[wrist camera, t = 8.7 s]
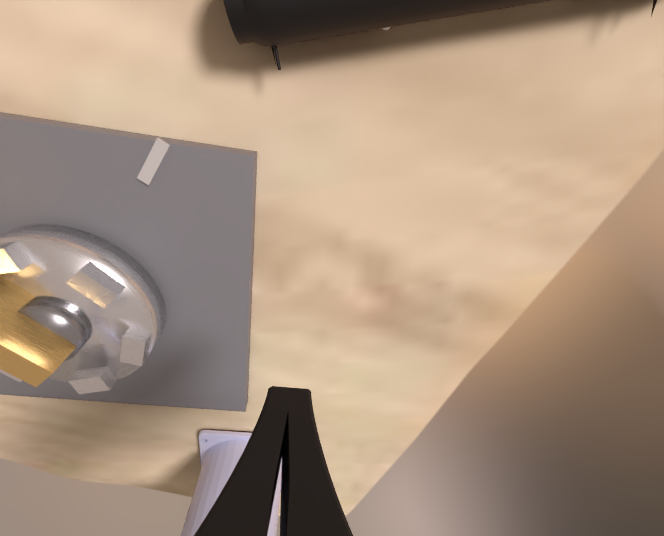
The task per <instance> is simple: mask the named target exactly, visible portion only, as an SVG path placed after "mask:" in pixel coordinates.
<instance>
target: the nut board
mask: <svg viewBox="0 0 664 536" xmlns="http://www.w3.org/2000/svg"><path fill="white" fill-rule="evenodd" d="M256 171H257V152H255V151H249V150H242V149H236V148H229V147H223V146H216V145H210V144H203V143H197V142H190V141H184V140H177V139H171V138H164V137H158V136H151V135H145V134H138V133H132V132H125V131H118V130H112V129H105V128H99V127H92V126H86V125H79V124H73V123H66V122H60V121H53V120H47V119H40V118H34V117H27V116H21V115H14V114H8V113H1V112H0V235H2V234H4V233H6V232H8V231H11V230H13V229H16V228H19V227H23V226H27V225H37V224H52V225H60V226H67V227H71V228H75V229H79V230H83V231H85V232H88V233H91V234H94V235H96V236H98V237H101V238H103V239H105V240H107V241H109V242H110V243H112V244H114V245H116V246H118V247H119V248H121V249H122V250H123V251H125V252H126V253H128V254H129V255H130V256H132V257H133V258H134V259H135V260H136V261H137V262H139V263H140V264H141V265H142V266H143V268H144V269H145V270H146V271H147V272H148V273H149V274H150V276H151V277H152V278H153V280H154V281H155V283H156V284H157V286H158V288H159V289H160V292H161V294H162V296H163V299H164V302H165V306H166V324H165V327H164V330H163V332H162V334H161V336H160V338H159V340H158V341H157V343H156V345H155V346H154V348H153V350H152V351H151V353H150V354H149V356H148V358H147V359H146V361H145V362H144V364H143V366H141V367H139V368H138V369H137V370H136V371H134V372H133V373H131V374H130V375H128V376H125V377H123V378H121V379H117V381H116V382H115V384H114V385H113V387H112V388H111V390H108V391H100V392H92V393H84V394H78V393H77V391H76V390H75V389H74V388H73V387H72V385H71V384H70V383H69V382H66V381H60V380H56V379H52V378H47V379H46V380H44V381H43V382H42V383H41V384H40V385H38V386H37V387H34V386H32V385H30V384H28V383H26V382H25V381H23V380H22V381H21V382H18V381H16V380H14V379H12V378H10V377H8V376H6V375H4V374H2V373H0V394H2V395H16V396H30V397H44V398H58V399H72V400H87V401H101V402H115V403H129V404H143V405H157V406H171V407H186V408H200V409H214V410H228V411H242V412H245V411H246V407H247V402H248V381H249V355H250V329H251V302H252V276H253V250H254V223H255V197H256Z"/></svg>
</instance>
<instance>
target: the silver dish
mask: <svg viewBox="0 0 664 536" xmlns="http://www.w3.org/2000/svg"><path fill="white" fill-rule="evenodd" d="M165 324H166V306H165V302H164V299H163V296H162V294H161V292H160V289H159V288H158V286H157V284H156V283H155V281H154V280H153V278H152V277H151V276H150V274H149V273H148V272H147V271H146V270H145V269H144V268H143V266H142V265H141V264H140V263H139V262H137V261H136V260H135V259H134V258H133V257H132V256H130V255H129V254H128V253H126V252H125V251H123V250H122V249H121V248H119V247H118V246H116V245H114V244H112V243H110V242H109V241H107V240H105V239H103V238H101V237H98V236H96V235H94V234H91V233H88V232H85V231H83V230H79V229H75V228H71V227H67V226H60V225H52V224H37V225H27V226H23V227H19V228H16V229H13V230H11V231H8V232H6V233H4V234H2V235H0V373H2V374H4V375H6V376H8V377H10V378H12V379H14V380H16V381H18V382H21V381H22V380H23V381H25V382H26V383H28V384H30V385H32V386H34V387H37V386H38V385H40V384H41V383H42V382H43V381H44V380H46V379H47V378H52V379H56V380H60V381H66V382H69V383H70V384H71V385H72V387H73V388H74V389H75V390H76V391H77V393H78V394H84V393H92V392H100V391H108V390H111V388H112V387H113V385H114V384H115V382H116V381H117V379H121V378H123V377H125V376H128V375H130V374H131V373H133V372H134V371H136V370H137V369H138V368H139V367H141V366H143V364H144V362H145V361H146V359H147V358H148V356H149V354H150V353H151V351H152V350H153V348H154V346H155V345H156V343H157V341H158V340H159V338H160V336H161V334H162V332H163V330H164V327H165Z"/></svg>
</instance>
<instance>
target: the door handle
mask: <svg viewBox="0 0 664 536" xmlns="http://www.w3.org/2000/svg"><path fill="white" fill-rule="evenodd" d="M223 1H224V5H225V8H226V12H227V15H228V18H229V21H230V24H231V27H232V30H233V32H234V35H235V37H236V39H237V41H238V42H239V43H240V44H243V43H249V42H256V43H259V44H261V45H265V46H272V51H273V55H274V51H275V56H276V61H277V67H278V70H280V69H281V67H280V62H279V56H278V51H277V45H283V44H289V43H295V42H301V41H307V40H313V39H319V38H325V37H332V36H338V35H344V34H350V33H356V32H362V31H368V30H374V29H380V28H382V29H383V30H388V29H390V28H391V27H392V26H398V25H404V24H410V23H416V22H422V21H429V20H435V19H441V18H447V17H453V16H459V15H465V14H471V13H477V12H483V11H489V10H495V9H501V8H507V7H513V6H520V5H526V4H532V3H538V2H544V1H550V0H223ZM656 1H657V0H654V1H653V8H652V13H653V10H654V7H655V4H656ZM651 16H652V14H651ZM273 46H274V49H273ZM270 48H271V47H270ZM275 56H274V59H275ZM275 64H276V62H275Z"/></svg>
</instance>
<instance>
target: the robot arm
mask: <svg viewBox="0 0 664 536" xmlns="http://www.w3.org/2000/svg"><path fill="white" fill-rule="evenodd" d="M199 447H200V458H201V471H200V474H199V478H198V481H197V484H196V488H195V491H194V494H193V497H192V501H191V504H190V507H189V511H188V514H187V517H186V521H185V524H184V528H183V531H182V534H181V536H276V532H277V521H278V511H279V501H280V492H281V515H280V536H353V534H352V532H351V530H350V527H349V525H348V522H347V520H346V518H345V515H344V512H343V510H342V507H341V505H340V502H339V500H338V497H337V494H336V491H335V488H334V486H333V483H332V480H331V477H330V474H329V471H328V467H327V464H326V461H325V458H324V454H323V450H322V447H321V443H320V440H319V436H318V432H317V427H316V423H315V418H314V413H313V407H312V399H311V391H310V390H309V389H300V388H287V387H274V386H272V387H270V388H269V389H268V393H267V397H266V400H265V403H264V406H263V409H262V411H261V414H260V416H259V419H258V421H257V424H256V426H255V428H254V430H253V432H252V433H248V432H232V431H217V430H202V431H200V433H199Z"/></svg>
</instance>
